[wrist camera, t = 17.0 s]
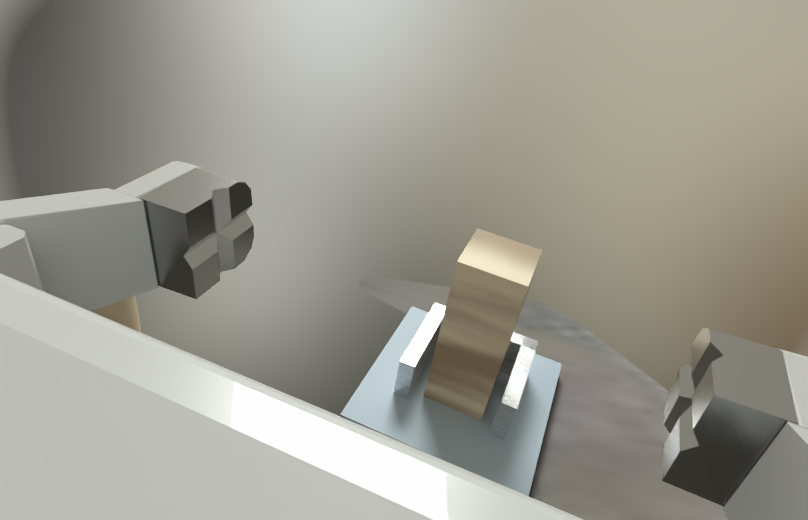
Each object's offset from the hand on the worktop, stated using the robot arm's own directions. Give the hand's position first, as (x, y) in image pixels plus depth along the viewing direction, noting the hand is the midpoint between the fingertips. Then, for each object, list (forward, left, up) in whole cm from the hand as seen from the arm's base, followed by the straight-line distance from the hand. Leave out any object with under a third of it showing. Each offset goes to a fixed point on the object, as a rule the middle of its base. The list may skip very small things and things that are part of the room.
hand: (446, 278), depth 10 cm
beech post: (+14, -13, -22) cm, 30 cm away
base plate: (+14, -13, -23) cm, 30 cm away
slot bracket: (+15, -13, -22) cm, 30 cm away
